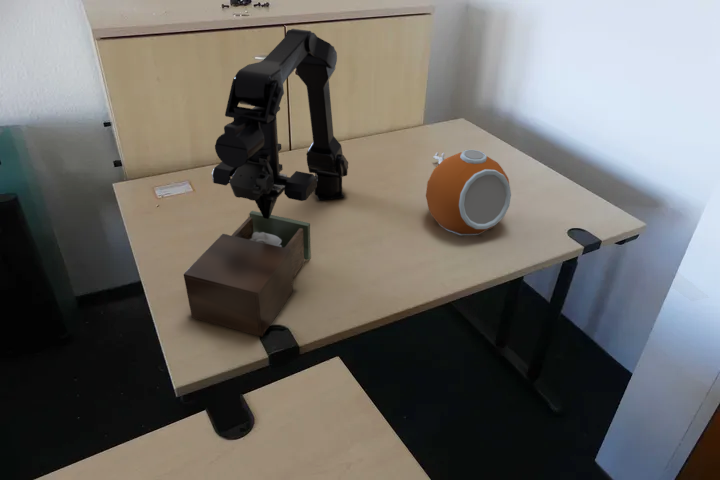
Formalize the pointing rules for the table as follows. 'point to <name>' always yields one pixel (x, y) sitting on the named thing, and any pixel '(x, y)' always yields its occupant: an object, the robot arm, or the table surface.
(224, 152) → the robot arm
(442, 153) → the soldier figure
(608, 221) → the table surface
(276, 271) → the cabinet
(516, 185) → the table surface
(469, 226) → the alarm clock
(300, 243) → the drawer
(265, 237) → the white carved sculpture
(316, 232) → the table surface
